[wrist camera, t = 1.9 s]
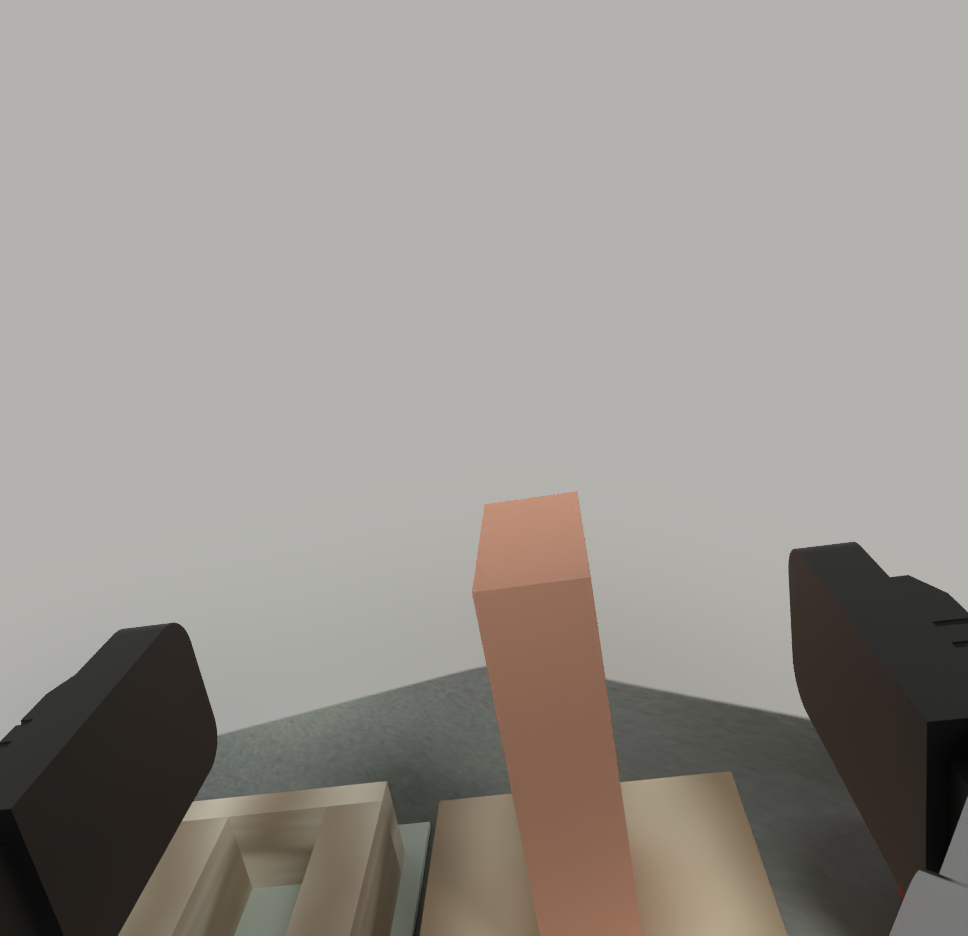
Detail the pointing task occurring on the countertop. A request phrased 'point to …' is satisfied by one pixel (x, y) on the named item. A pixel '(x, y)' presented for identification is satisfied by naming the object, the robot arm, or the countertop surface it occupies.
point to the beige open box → (279, 864)
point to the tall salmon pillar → (555, 715)
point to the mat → (274, 905)
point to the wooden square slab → (654, 853)
